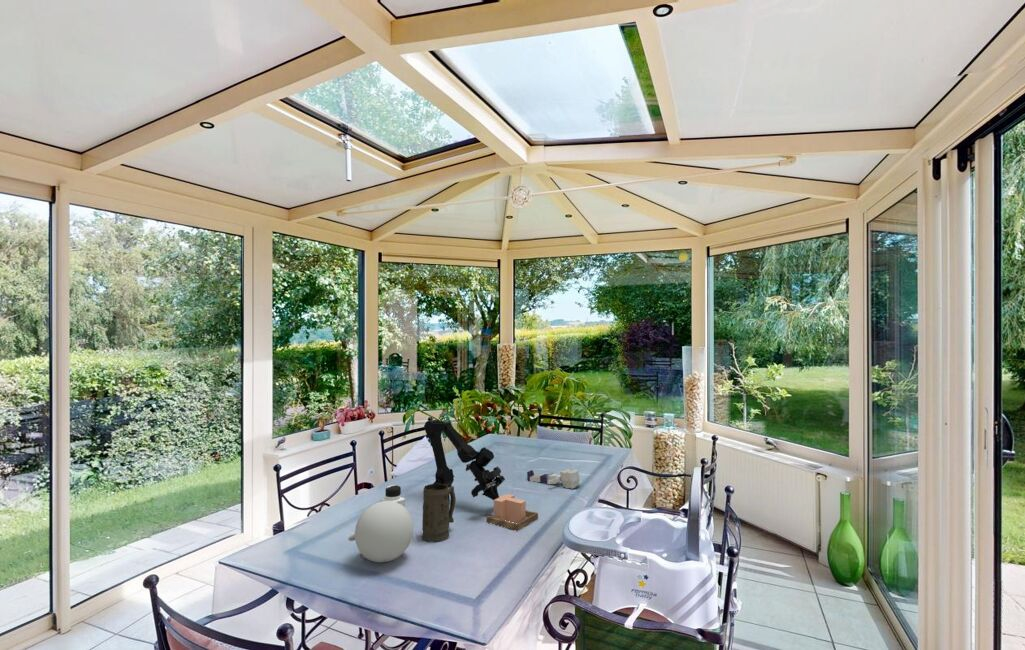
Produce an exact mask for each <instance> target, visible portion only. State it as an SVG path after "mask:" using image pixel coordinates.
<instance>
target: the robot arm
mask: <svg viewBox="0 0 1025 650" xmlns="http://www.w3.org/2000/svg"><path fill="white" fill-rule="evenodd" d="M423 427H424V432H425V435H426V436H427V437H428V438H429V440H430V442H431V448H432V452H433V457H434V462H435V467H436V471H435V475H434V478H435V481H434V482H433V483H432V484H445V485H447V486H448V489H449V487H450V486H453V482H454V480H455V476H454V471H453V469H452V468H449V467H448V465H447V461H446V456H445V455H446V454H445V451H444V447H443V445H444V444H443V441H442V434H443V433H444V435H445V436H446V438H448V440H449V441H450V442H451V444H452V445H453V446H454V448H455V449H456V452H457V456H458V458H459V460H460V461H461V463H464V464H466V463H468V464H466V466H465V471H466V472H467V471H470V472H471V473H472V475H473V477H474V482H477V483H478V484H477V485H476V486H474V487H473V488H472V490H471V493H470V494H471V496H472V498H475V497H477V496H478V495H479V493H480V492H482V494H481V495H482V496H484V497H487V498H488V499H490V500H492V501H494V500H495V499H497V498H499V497H500V496H499V491H498V487H500V486H501V484H503V483H504V481H506V478H505V477H504V475H501V473H502V470H501V469H500V467H499V466H496V467H493V470H492V471H491V470H489V469H486V468H485V467H487V466H488V465H489V464H490V463H491V462H492V460H493V459H495V454H494V452H493V451H491V450H490V449H489V448H486V446H484V447H482V448H480V450H479V451H478V450H477V451H476V449H475V448H474V447H473V446H472V445H470V444H468V443H467V442H466V441H465V440H464V439H463V438H462V437H461V435H460V434H459V433H458V432H457V430H456V429H455V428H454V426H453V423H451V421H445V420H444V421H443V420H440V419H432V420H427V421H426V422H425V424H424V425H423ZM448 501H449V502H450V494H448Z"/></svg>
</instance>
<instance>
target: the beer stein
mask: <svg viewBox="0 0 1025 650" xmlns="http://www.w3.org/2000/svg"><path fill="white" fill-rule="evenodd" d="M422 494H423V496H422V497H423V502H422V524H421V525H422V528H421V529H422V534H421V538H422V539H423V540H424V541H425V540H426V542H429V541H439V542H443V541H445V540H447V539H448V538H449V537H450V531H449V530H450V523H451V524H452V523H454V520H455V519H454V517H453V514H454V511H455V507H456V502H457V501H456V498H457V497H456V493H455V486H454V485H451V486H450V487H449V488H448V486H447V485H445V484H433V483H432V484H431V483H430V484H426V485H425V486H424V487H423V490H422ZM448 494H449V497H450V500H449V501H448ZM449 502H450V503H449ZM442 540H443V541H442Z"/></svg>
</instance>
